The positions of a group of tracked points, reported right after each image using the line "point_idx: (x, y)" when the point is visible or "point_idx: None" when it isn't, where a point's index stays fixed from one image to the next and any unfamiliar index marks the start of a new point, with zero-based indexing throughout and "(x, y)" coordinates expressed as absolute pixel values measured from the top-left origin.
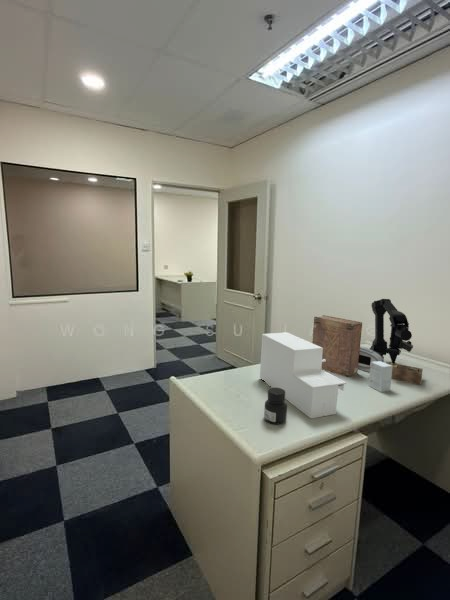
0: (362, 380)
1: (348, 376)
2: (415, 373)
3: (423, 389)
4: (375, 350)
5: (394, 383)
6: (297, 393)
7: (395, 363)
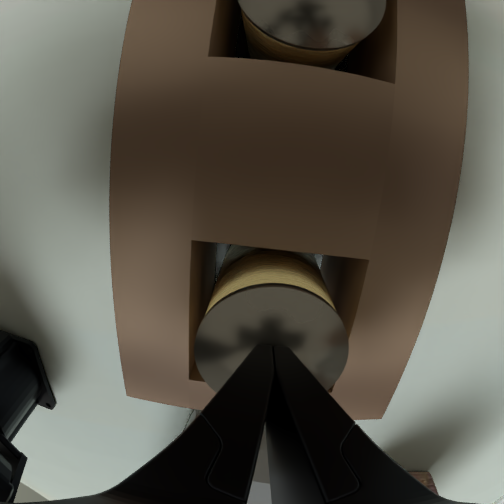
0: (466, 421)
1: (427, 474)
2: (460, 10)
3: (490, 18)
4: (12, 487)
5: (482, 238)
6: None
7: (278, 326)
